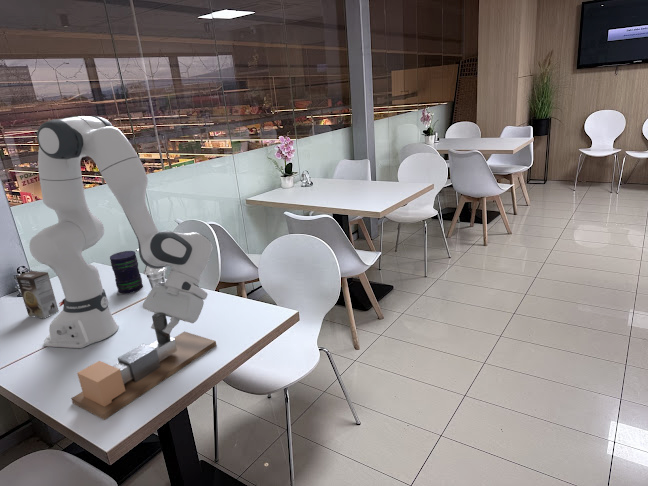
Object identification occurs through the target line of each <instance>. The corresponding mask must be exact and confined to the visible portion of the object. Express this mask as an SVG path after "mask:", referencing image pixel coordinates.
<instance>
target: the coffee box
mask: <svg viewBox="0 0 648 486" xmlns="http://www.w3.org/2000/svg"><path fill="white" fill-rule="evenodd" d="M15 278H16V281H17V284H18V287H19V290H20V292H21V297H22V299H23V303H24V306H25V309H26V312H27V314H28V315H27V316H28V317H32V316H35V317H34V318H38V317H42V318H41V319H44V318H45V317H47V316H49V315H51V316H53V315H54V313H55V314H57V313H59V312H60V311H59V306H58V303H57V299H56V296H55V292H54V289H53V285H52V282H51V278H50V275H49V272H45V271H36V270H31V271H28V272H25V273H22V274H20V275H19V274H18V275H17V276H16V277H15ZM58 311H59V312H58ZM56 312H57V313H56ZM52 314H53V315H52ZM49 317H50V316H49ZM47 318H48V317H47ZM45 319H46V318H45Z"/></svg>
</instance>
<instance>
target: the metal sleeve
mask: <svg viewBox="0 0 648 486" xmlns="http://www.w3.org/2000/svg"><path fill="white" fill-rule="evenodd" d="M117 361H118V362H117V363H119V362H121V361H122V362H124V363H127V364H129V365H130V367H131V371H132V375H133V379H131V381H133V382H135V383H136V382H138V381H139V380H141V379H142V378H144V377H146V376H147V375H149V374H150V373H152V372H153V371H155V370H157V369H158V368H160V367H161V366H160V362H159V358H158V353H157V349H156V348H154V347H151V346H149V345H148V344H146V343H142V344H140V345H138V346H136V347H135V348H132V349H131V350H129V351H127V352H126V353H124V354H123V355H121V356H118V357H117Z"/></svg>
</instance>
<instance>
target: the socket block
mask: <svg viewBox="0 0 648 486" xmlns="http://www.w3.org/2000/svg"><path fill="white" fill-rule="evenodd" d="M113 366H114V365H111V364H108V363H106V362H104V361H101V360H98V361H96V362H94V363H93V364H92V363H91V365H89V366H87V367H85V368H84V369H81V370H80V371H78V372H77V373H76V374H77V378H78V381H79V384H80V387H81V392H83V395H84V397H86V398H88V399H90V400H92V401H94V402H96V403H98V404H100V405H102V406H104V407H105V406H106V405H108V404H110V403H111V402H112V399H114V398H115V397H117V396H118V395H120V394H122V393H123V392H125V387H124V383H123V379H122V375H121V372H120V369H118V368H116V367H113Z"/></svg>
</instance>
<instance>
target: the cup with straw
mask: <svg viewBox="0 0 648 486" xmlns="http://www.w3.org/2000/svg"><path fill="white" fill-rule="evenodd" d="M135 252H139V248H138V249H136V250H135ZM167 270H168V269H167V266H166V267H163V268H160V269H154V268H150V267H148V266H147V265H145V268H144V270H143V274H144V275H146V277H147V280H148V282H149V284H150V287H151V289H152V288H153V287H154V286H155V285H156V284H158V283H160V282H164V283H165V282H166V271H167Z"/></svg>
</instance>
